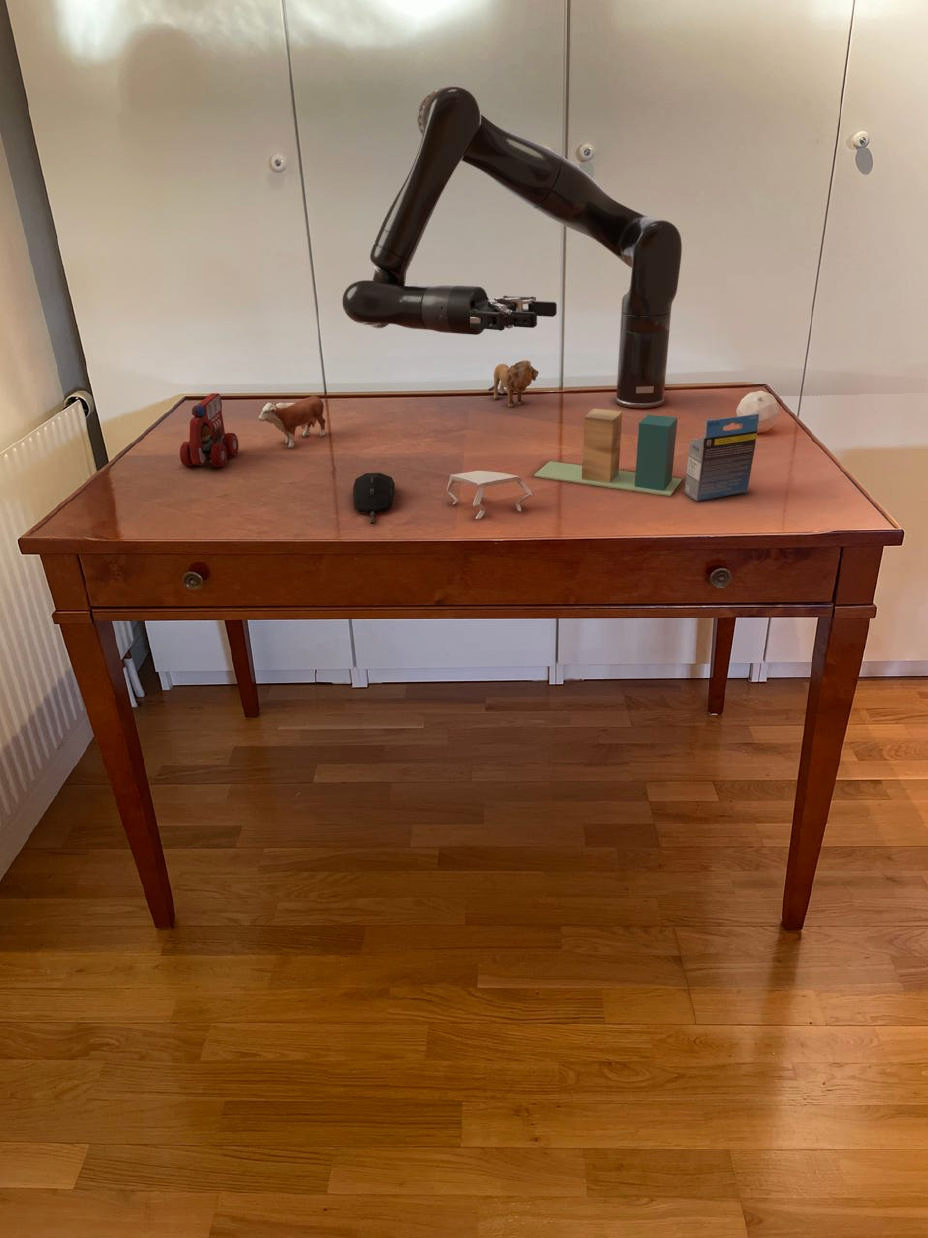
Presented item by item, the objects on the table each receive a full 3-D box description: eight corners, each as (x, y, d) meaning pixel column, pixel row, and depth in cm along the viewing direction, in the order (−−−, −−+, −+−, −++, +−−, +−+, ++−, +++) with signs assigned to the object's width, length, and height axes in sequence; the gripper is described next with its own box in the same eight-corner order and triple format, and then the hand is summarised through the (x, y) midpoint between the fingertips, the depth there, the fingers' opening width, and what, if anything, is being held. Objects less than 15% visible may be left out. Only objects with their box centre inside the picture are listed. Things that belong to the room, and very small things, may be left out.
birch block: (591, 469, 142) (593, 408, 137) (618, 473, 140) (622, 411, 135) (581, 479, 138) (584, 416, 133) (609, 483, 137) (613, 419, 132)
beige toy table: (453, 523, 126) (452, 490, 123) (446, 501, 133) (445, 470, 130) (536, 516, 127) (536, 484, 124) (525, 495, 134) (525, 464, 132)
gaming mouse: (350, 525, 126) (347, 499, 124) (355, 487, 139) (353, 462, 137) (394, 523, 126) (392, 496, 124) (395, 485, 139) (393, 461, 137)
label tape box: (734, 485, 135) (744, 405, 129) (749, 494, 132) (760, 413, 126) (683, 493, 133) (691, 412, 127) (697, 502, 130) (706, 420, 123)
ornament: (785, 429, 157) (789, 402, 150) (746, 447, 157) (749, 420, 150) (766, 401, 160) (769, 373, 153) (728, 419, 160) (729, 391, 153)
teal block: (642, 476, 139) (647, 414, 134) (671, 480, 137) (677, 417, 132) (634, 486, 135) (638, 422, 130) (663, 490, 133) (669, 426, 128)
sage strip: (549, 462, 146) (549, 460, 146) (682, 480, 137) (682, 478, 137) (533, 476, 141) (533, 475, 140) (670, 496, 132) (670, 494, 132)
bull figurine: (259, 449, 156) (252, 403, 152) (319, 430, 165) (314, 386, 160) (274, 454, 154) (268, 408, 149) (334, 434, 162) (329, 390, 158)
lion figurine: (541, 406, 174) (542, 360, 169) (519, 411, 171) (520, 364, 167) (498, 390, 184) (498, 346, 180) (477, 395, 182) (476, 350, 177)
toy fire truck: (177, 473, 147) (164, 411, 141) (206, 448, 157) (196, 390, 152) (216, 474, 146) (205, 412, 140) (243, 449, 156) (234, 390, 151)
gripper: (434, 293, 139) (529, 298, 133) (472, 278, 150) (562, 282, 144) (436, 342, 143) (529, 348, 137) (474, 323, 154) (561, 329, 148)
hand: (546, 314), depth 140 cm, fingers open, 8 cm apart
